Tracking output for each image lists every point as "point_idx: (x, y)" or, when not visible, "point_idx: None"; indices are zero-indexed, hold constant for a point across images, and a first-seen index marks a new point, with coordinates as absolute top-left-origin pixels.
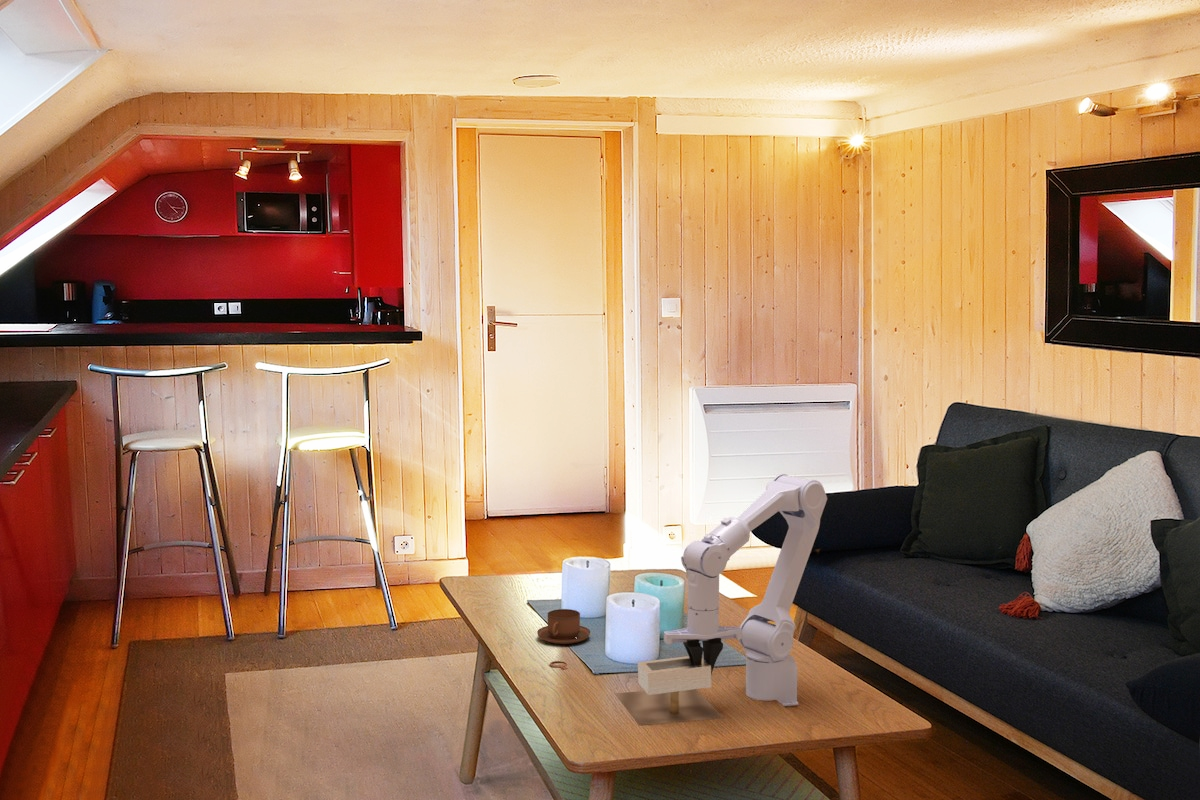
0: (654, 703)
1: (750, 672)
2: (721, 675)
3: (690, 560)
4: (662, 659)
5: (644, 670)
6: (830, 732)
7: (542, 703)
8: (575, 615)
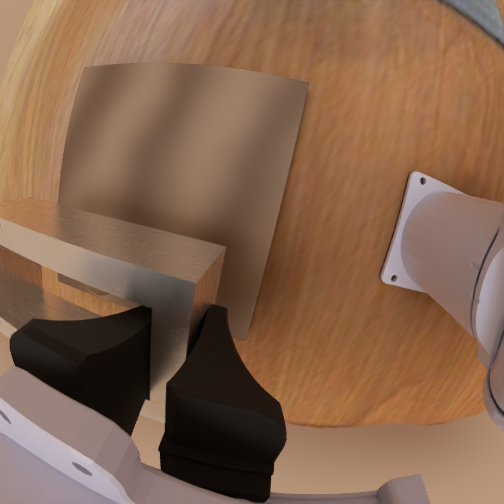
0: (124, 164)
1: (444, 274)
2: (436, 36)
3: None
4: (24, 229)
5: None
6: (398, 414)
7: (12, 70)
8: None
